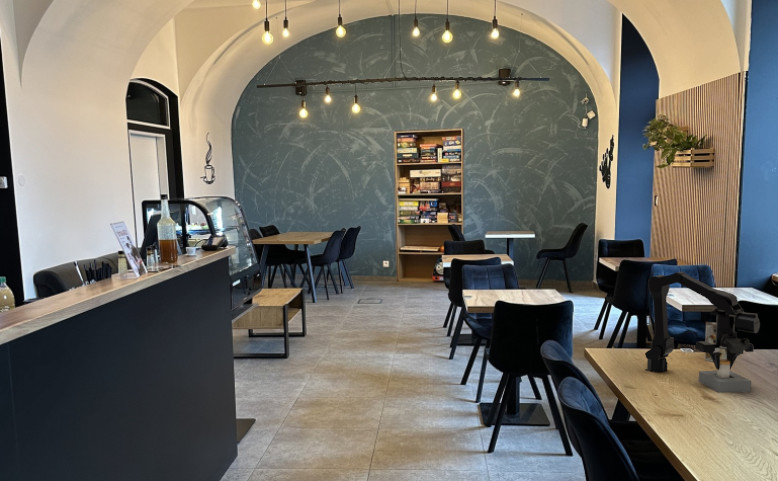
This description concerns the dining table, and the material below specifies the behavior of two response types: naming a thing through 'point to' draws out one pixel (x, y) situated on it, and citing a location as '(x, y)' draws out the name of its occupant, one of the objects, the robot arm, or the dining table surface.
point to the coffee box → (710, 337)
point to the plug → (724, 369)
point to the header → (725, 382)
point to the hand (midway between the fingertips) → (723, 369)
